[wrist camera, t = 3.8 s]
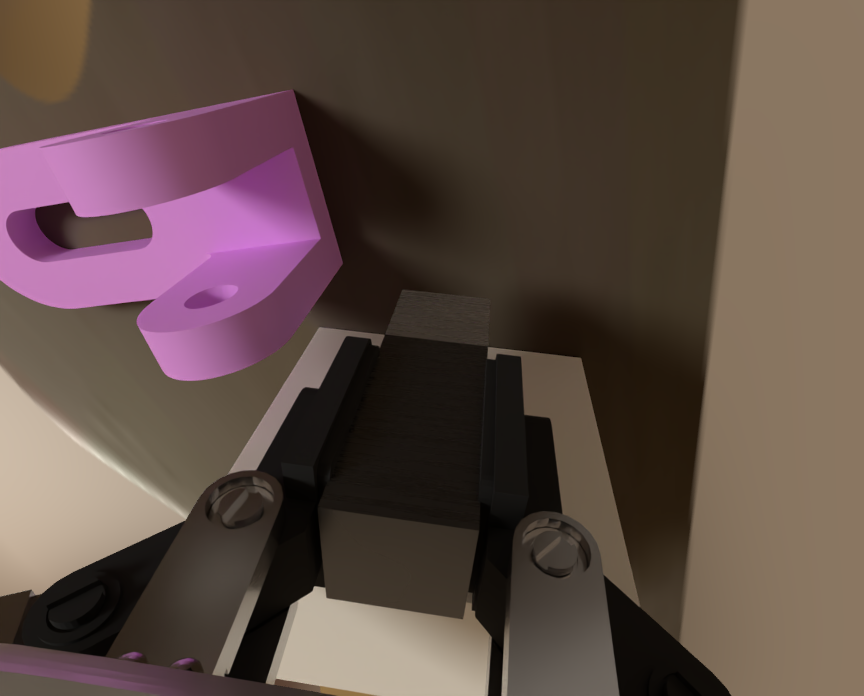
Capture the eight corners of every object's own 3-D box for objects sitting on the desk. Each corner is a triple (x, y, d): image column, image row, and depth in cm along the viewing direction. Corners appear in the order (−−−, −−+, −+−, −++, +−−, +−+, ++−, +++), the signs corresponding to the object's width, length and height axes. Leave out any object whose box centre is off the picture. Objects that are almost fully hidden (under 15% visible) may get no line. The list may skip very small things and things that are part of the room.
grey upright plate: (402, 289, 13) (317, 507, 7) (490, 299, 13) (479, 530, 7) (393, 567, 20) (346, 798, 14) (450, 575, 20) (428, 813, 14)
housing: (319, 327, 19) (176, 557, 11) (580, 357, 18) (645, 629, 10) (326, 424, 22) (216, 668, 13) (554, 454, 21) (587, 731, 13)
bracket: (294, 89, 15) (158, 125, 9) (344, 261, 18) (265, 374, 12) (-47, 157, 17) (-326, 221, 11) (44, 299, 20) (-142, 407, 14)
